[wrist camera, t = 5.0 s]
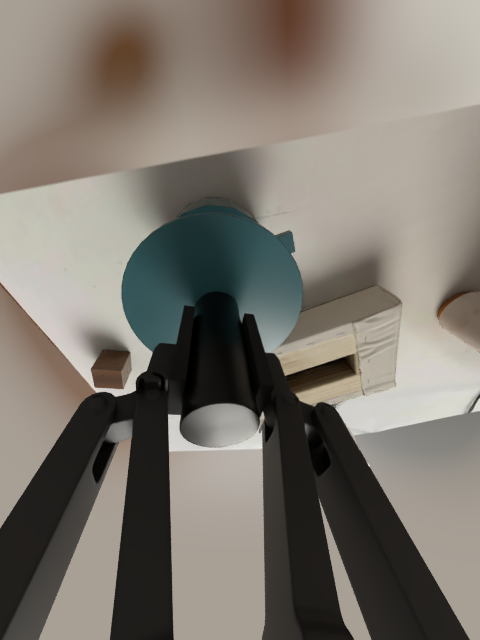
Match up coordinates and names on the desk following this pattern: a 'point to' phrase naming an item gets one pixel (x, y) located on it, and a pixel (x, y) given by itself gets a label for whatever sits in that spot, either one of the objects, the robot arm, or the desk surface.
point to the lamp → (462, 318)
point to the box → (343, 348)
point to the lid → (213, 312)
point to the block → (111, 369)
